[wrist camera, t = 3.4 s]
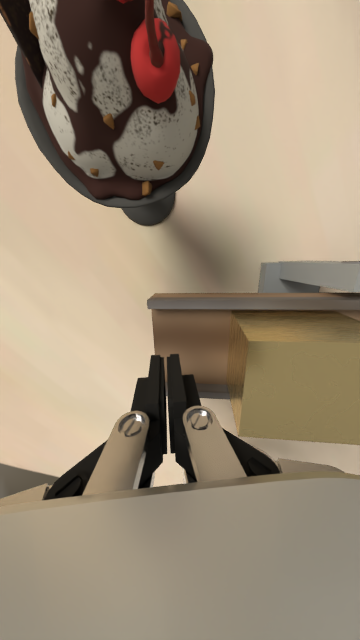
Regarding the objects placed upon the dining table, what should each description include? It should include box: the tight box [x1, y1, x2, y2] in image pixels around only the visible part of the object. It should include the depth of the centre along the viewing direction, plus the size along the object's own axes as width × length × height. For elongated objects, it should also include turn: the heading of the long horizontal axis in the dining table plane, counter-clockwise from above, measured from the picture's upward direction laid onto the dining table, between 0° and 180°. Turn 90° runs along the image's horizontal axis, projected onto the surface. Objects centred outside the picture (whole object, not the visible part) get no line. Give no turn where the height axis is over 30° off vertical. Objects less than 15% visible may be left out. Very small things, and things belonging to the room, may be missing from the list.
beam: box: [147, 293, 360, 399], centre depth 15 cm, size 8×28×6 cm, turn 91°
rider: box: [226, 311, 360, 445], centre depth 12 cm, size 6×7×5 cm
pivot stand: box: [258, 261, 360, 293], centre depth 17 cm, size 12×6×8 cm, turn 1°
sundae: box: [0, 0, 215, 225], centre depth 9 cm, size 7×7×15 cm
